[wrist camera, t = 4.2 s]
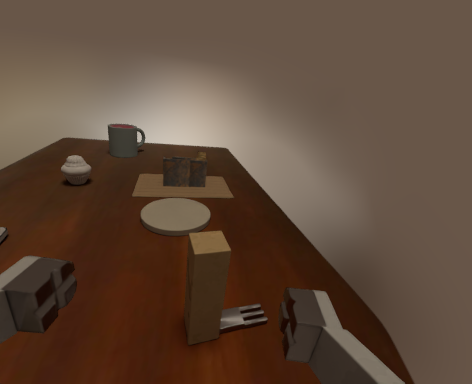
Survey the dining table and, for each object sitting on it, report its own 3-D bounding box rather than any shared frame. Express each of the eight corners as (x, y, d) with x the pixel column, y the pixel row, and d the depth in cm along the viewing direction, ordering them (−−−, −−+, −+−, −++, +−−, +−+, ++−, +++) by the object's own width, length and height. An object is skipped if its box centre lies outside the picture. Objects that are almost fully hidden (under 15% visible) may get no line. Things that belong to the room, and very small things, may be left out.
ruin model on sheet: (222, 176, 77) (225, 147, 73) (233, 198, 62) (238, 162, 59) (140, 173, 70) (139, 141, 66) (132, 196, 56) (130, 156, 52)
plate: (217, 233, 46) (217, 227, 45) (139, 239, 41) (139, 233, 41) (202, 201, 58) (203, 197, 57) (141, 203, 53) (141, 198, 53)
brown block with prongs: (188, 345, 25) (194, 254, 21) (183, 318, 28) (188, 232, 23) (268, 326, 28) (289, 244, 24) (257, 303, 31) (274, 226, 27)
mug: (120, 158, 81) (118, 129, 77) (104, 152, 85) (102, 124, 81) (152, 153, 92) (152, 127, 88) (137, 148, 96) (136, 123, 92)
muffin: (65, 188, 55) (60, 159, 52) (61, 179, 59) (56, 152, 56) (95, 184, 59) (92, 157, 56) (89, 177, 63) (86, 151, 60)
